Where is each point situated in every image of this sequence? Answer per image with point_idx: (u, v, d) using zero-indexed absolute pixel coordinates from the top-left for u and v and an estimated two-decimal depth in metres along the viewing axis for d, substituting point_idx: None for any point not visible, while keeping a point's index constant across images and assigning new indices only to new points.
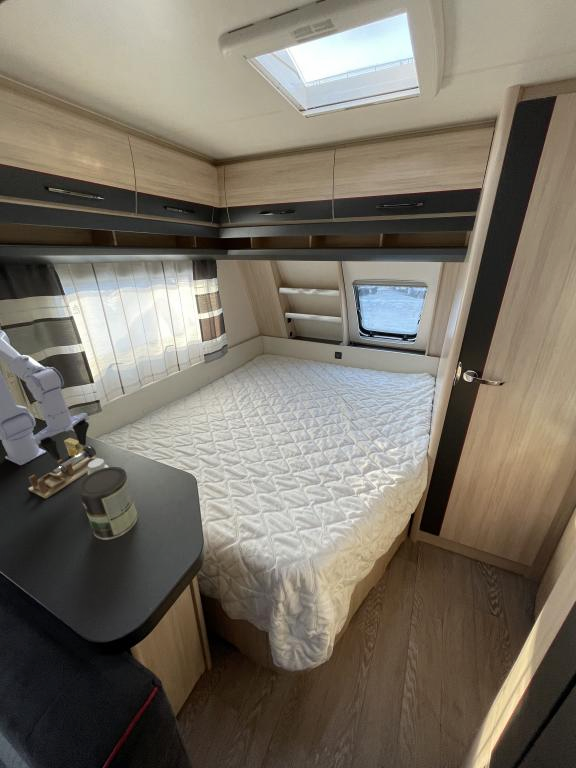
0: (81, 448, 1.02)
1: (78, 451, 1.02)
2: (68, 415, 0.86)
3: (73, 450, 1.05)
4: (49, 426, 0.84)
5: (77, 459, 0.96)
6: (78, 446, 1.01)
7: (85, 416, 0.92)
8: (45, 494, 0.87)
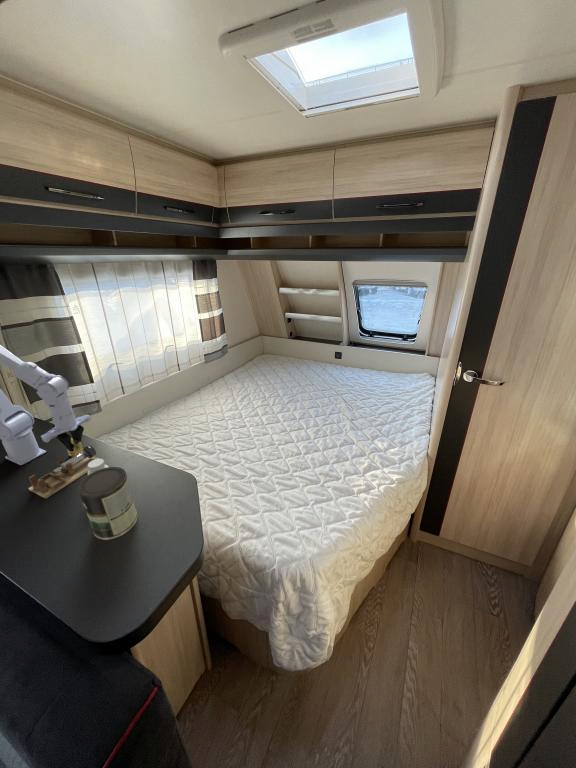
0: (81, 448, 1.02)
1: (78, 451, 1.02)
2: (73, 417, 0.99)
3: None
4: (57, 426, 0.97)
5: (77, 459, 0.96)
6: (78, 446, 1.01)
7: (88, 417, 1.05)
8: (45, 494, 0.87)
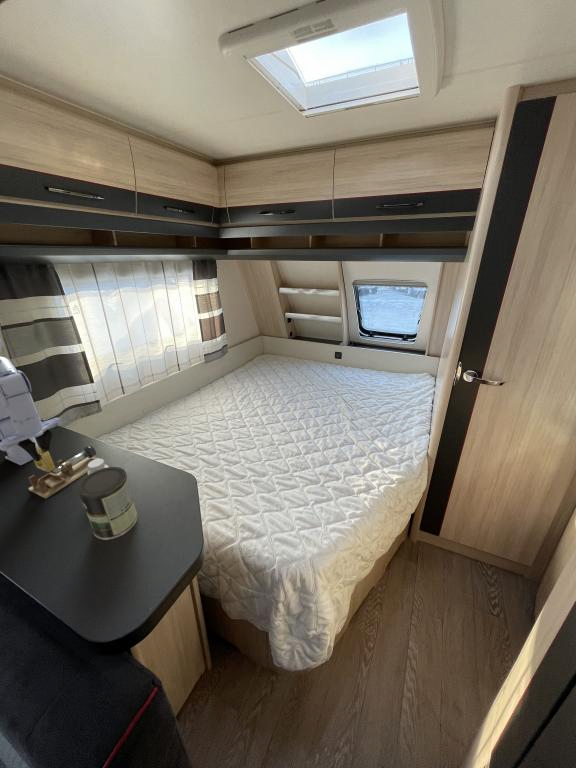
0: (49, 458, 0.87)
1: (45, 462, 0.86)
2: (38, 420, 0.83)
3: (41, 461, 0.90)
4: (18, 432, 0.81)
5: (77, 459, 0.96)
6: (45, 456, 0.86)
7: (58, 421, 0.89)
8: (45, 494, 0.87)
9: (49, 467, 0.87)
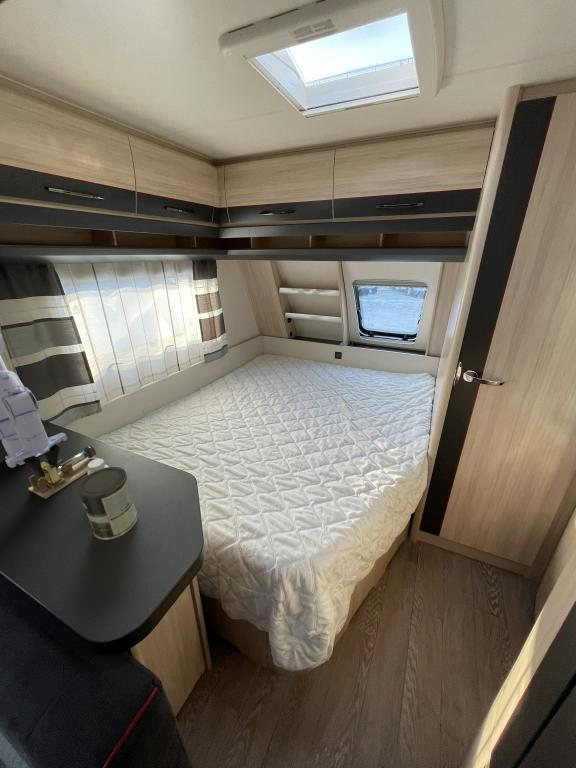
0: (56, 474, 0.89)
1: (52, 478, 0.89)
2: (45, 437, 0.86)
3: (47, 476, 0.92)
4: (25, 448, 0.83)
5: (77, 459, 0.96)
6: (52, 472, 0.88)
7: (63, 436, 0.91)
8: (45, 494, 0.87)
9: (56, 482, 0.90)
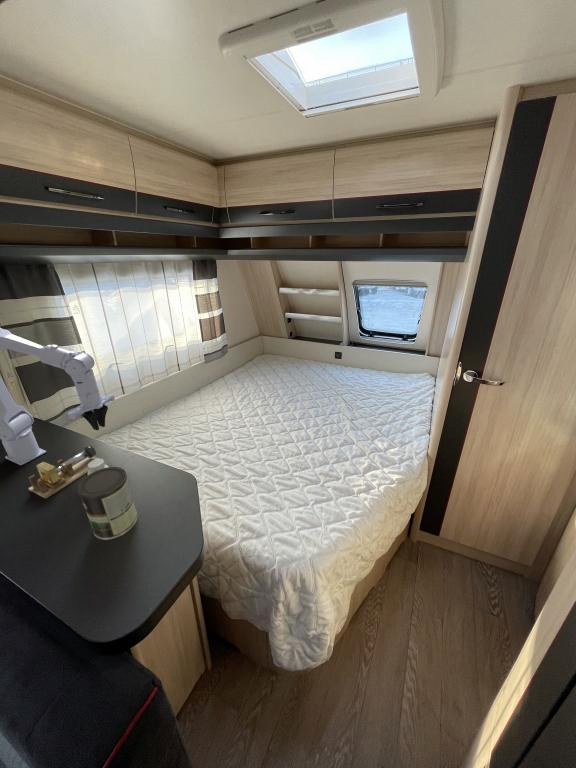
0: (56, 474, 0.89)
1: (52, 478, 0.89)
2: (99, 395, 0.98)
3: (47, 476, 0.92)
4: (83, 404, 0.96)
5: (77, 459, 0.96)
6: (52, 472, 0.88)
7: (112, 397, 1.04)
8: (45, 494, 0.87)
9: (56, 482, 0.90)
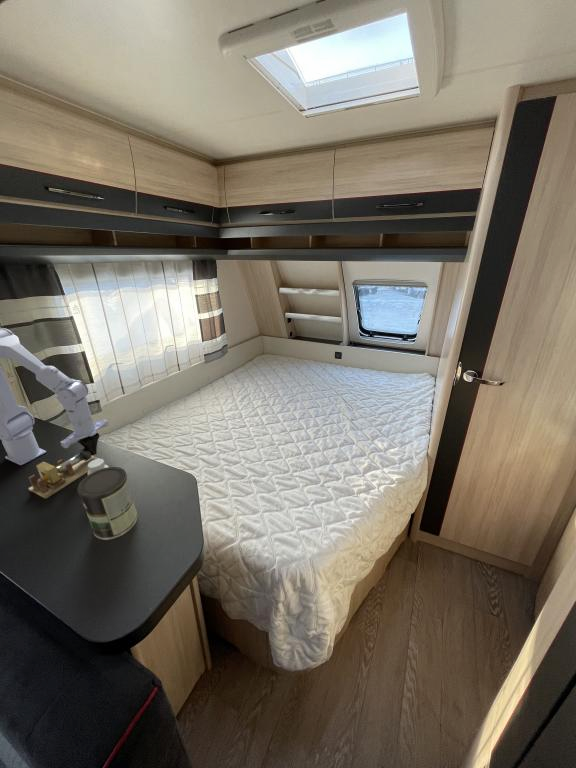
0: (56, 474, 0.89)
1: (52, 478, 0.89)
2: (92, 422, 0.98)
3: (47, 476, 0.92)
4: (76, 432, 0.95)
5: (72, 462, 0.95)
6: (52, 472, 0.88)
7: (106, 422, 1.03)
8: (45, 494, 0.87)
9: (56, 482, 0.90)
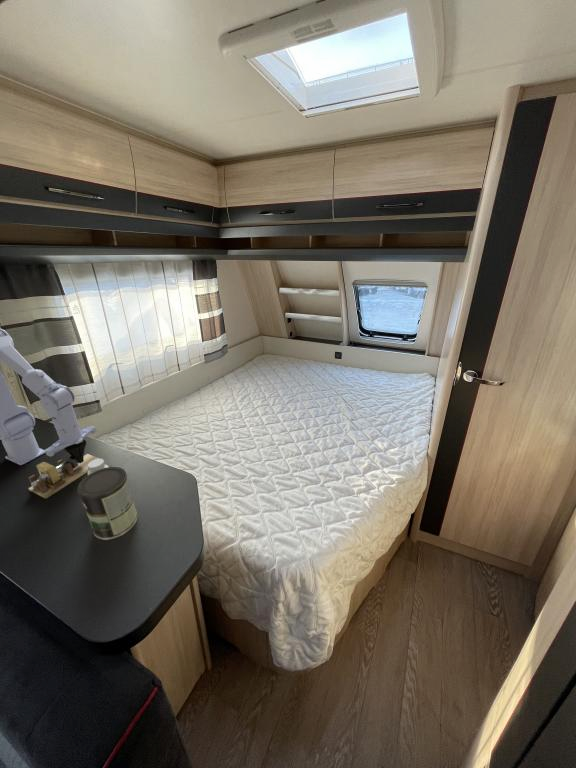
0: (56, 474, 0.89)
1: (52, 478, 0.89)
2: (78, 429, 0.94)
3: None
4: (61, 439, 0.92)
5: (57, 471, 0.91)
6: (52, 472, 0.88)
7: (93, 429, 1.00)
8: (45, 494, 0.87)
9: (56, 482, 0.90)
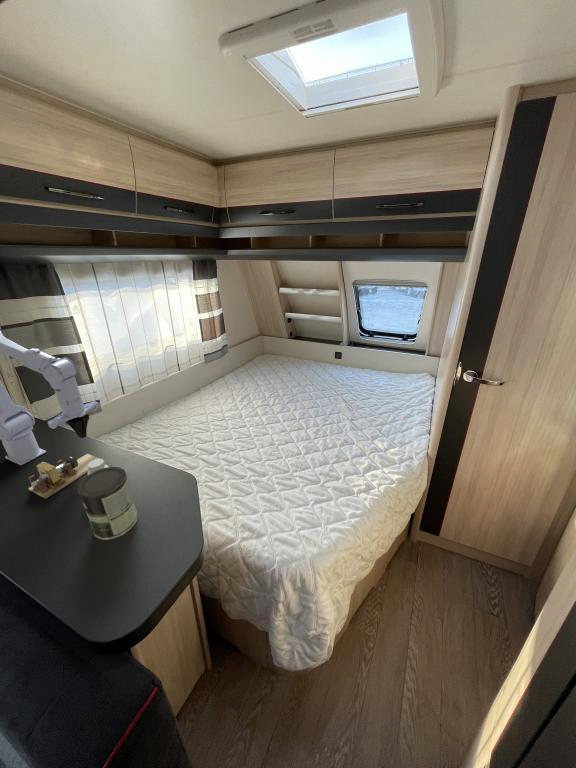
0: (56, 474, 0.89)
1: (52, 478, 0.89)
2: (81, 402, 0.93)
3: None
4: (64, 412, 0.91)
5: (57, 471, 0.91)
6: (52, 472, 0.88)
7: (96, 404, 0.99)
8: (45, 494, 0.87)
9: (56, 482, 0.90)
